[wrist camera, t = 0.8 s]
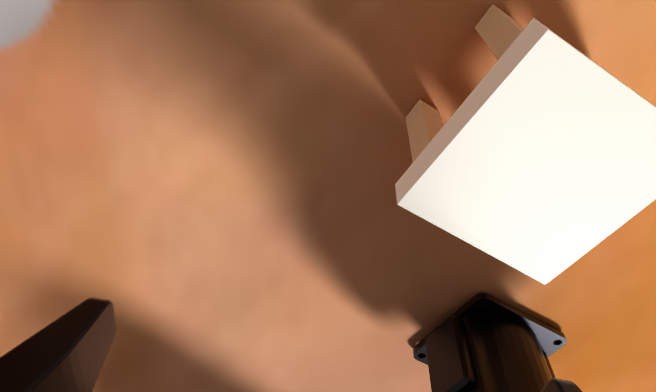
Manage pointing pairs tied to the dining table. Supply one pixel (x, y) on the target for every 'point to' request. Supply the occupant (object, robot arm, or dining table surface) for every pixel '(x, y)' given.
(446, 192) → the stool
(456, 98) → the dining table surface
